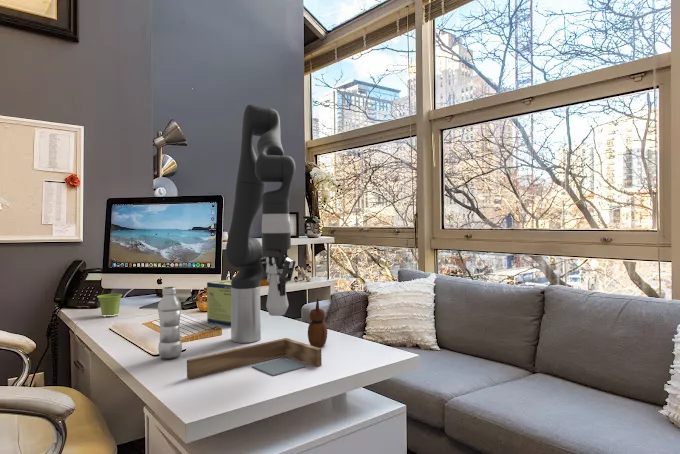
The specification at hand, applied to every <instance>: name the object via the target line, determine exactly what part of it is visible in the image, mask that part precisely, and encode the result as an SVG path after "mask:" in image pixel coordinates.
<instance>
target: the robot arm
mask: <svg viewBox="0 0 680 454" xmlns="http://www.w3.org/2000/svg"><path fill="white" fill-rule="evenodd" d="M241 131H242V132H241V145H240V148H241V149H240V157H239V164H238V170H237V171H238V172H237V177H236V184H235V194H234V196H235V197H234V203H233V210H232V218H231V223H230V227H229V231H228V237H227V242H226V245H225V258H226V261H227V263H228V264H229V266H231V267H233V268H239V270H238V272H237V274H236V275H234V277H232V279H230V280H231V299H232V310H231V326H230V335H231V336H230V339H231V341H232V342H234V343H239V344H240V343H241V344H246V343H247V344H249V343H253V342H258V341H260V340H261V338H262V334H261V332H262V330H261V329H262V328H261V321H262V320H261V319H262V318H261V281H262V279H264V280H266V281H267V283H268V284H269V283H270V277H271V274H269V272H268V269H269V267H270V266H271V265H273V267H274V269H275V275H276V279H277V283H278V284H277V287H278V291H280V296H285V294H286V295H287V292H285V291H286V290H287V289H286V283H288V282H291V281H292V277H293V274H294V270H295V266H296V265H295V264H296V260H295V259H290V258H289V257H290V256H289V254H288V253H289V252H288V251H289V250H290V249H291V247H292V246H291V245H292V244H291V243H292V240H291V239H292V237H291V236H292V234H291V233H292V231H291V230H292V229H291V217H290V197H291V195H290V194H291V189H292V186H293V181H294V178H295V174H296V170H297V169H296V168H297V167H296V166H297V165H296V162H295V160H294V158H293V157H292V156H290V155H285V149H284V148H283V144H282V141H281V138H282V137H281V134H282V133H281V117H280V114H279V112H278V111H277V110H276V109H274V108H271V107H267V106H266V107H265V106H261V105H260V106H259V105H255V104H248V105H247V106H245V108H244V112H243V118H242V129H241ZM253 136H256V137H259V138H258V141H257V144H256V148H257V154H258V156H257V154H256V152H255V148H254V142H253V141H254V140H253ZM267 183H281V185H280V186H279V188H278V189H276V190H275V189H274V190H270V191H266V188H267V187H266V186H267ZM261 207H262V217H261V218H262V219H261V241H259V240H258V239H257V238H255V237H250V232H251V227H252V224H253V221H254V219H255V217H256V215H257V214H258V212H259V211H260V209H261ZM263 250H264V251H265V254H264V251H263ZM278 269H283V271H278ZM280 274H282V276H281V278H280ZM262 277H263V278H262ZM282 292H283V293H282Z"/></svg>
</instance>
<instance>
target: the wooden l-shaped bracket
mask: <svg viewBox="0 0 680 454" xmlns="http://www.w3.org/2000/svg"><path fill="white" fill-rule="evenodd" d="M283 356H284V357H289V358H290V359H294V360H297V361H299V362H303V363H306V364H307V365H308V364H309V365H311V366H314V367H316V368H318V367H321V366H322V364H323V363H322V360H323V359H322V348H320V347H314V346H312V345H311V344H307V343H305V342H300V341H297V340H295V339H290V338H287V337H284V338H281V339H280V338H279V339H275V340H271V341H266V342H261V343H257V344H252V345H247V346H243V347H239V348H234V349H230V350H224V351H221V352H216V353H210V354H207V355H202V356H197V357H193V358H189V359H188V358H187V359H186V378H187V379H188V380H194V379H196V378H201V377H206V376H208V375H209V376H210V375H212V374H216V373H221V372H225V371H228V370H233V369H236V368H240V367H244V366H248V365H253V364H257V363H262V362H264V361H265V362H266V361H268V360H269V361H270V360H272V359H277V358H280V357H281V358H282V357H283Z"/></svg>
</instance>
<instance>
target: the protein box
mask: <svg viewBox="0 0 680 454" xmlns="http://www.w3.org/2000/svg"><path fill="white" fill-rule="evenodd" d="M231 280H232V279H222V280H215V281H209V282H206V298H207V299H206V303H207V305H206V307H207V309H206V311H207V316H206V318H207V319H206V320H207V321H209V322H213V323H212V324H216V323H217V324H216V325H222V326H223V325H224V326H228V325H229V327H231V310H232V299H231ZM207 321H206V322H207ZM209 322H208V323H209Z"/></svg>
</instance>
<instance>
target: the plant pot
mask: <svg viewBox="0 0 680 454" xmlns="http://www.w3.org/2000/svg"><path fill="white" fill-rule="evenodd" d="M122 296H123V294H122V293H108V294H100V295H97V296H96V297H97V299H98V301H99V305H100V310H101V316H102V315H114V314H118V313H120V306H121V305H120V304H121V300H122Z"/></svg>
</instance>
